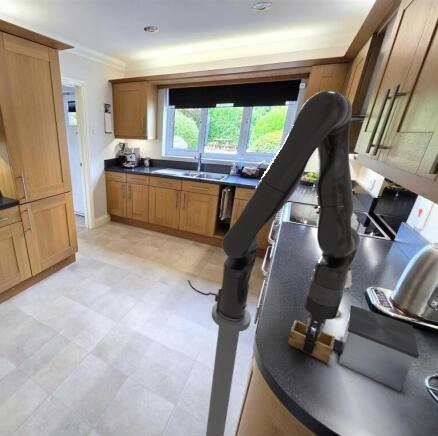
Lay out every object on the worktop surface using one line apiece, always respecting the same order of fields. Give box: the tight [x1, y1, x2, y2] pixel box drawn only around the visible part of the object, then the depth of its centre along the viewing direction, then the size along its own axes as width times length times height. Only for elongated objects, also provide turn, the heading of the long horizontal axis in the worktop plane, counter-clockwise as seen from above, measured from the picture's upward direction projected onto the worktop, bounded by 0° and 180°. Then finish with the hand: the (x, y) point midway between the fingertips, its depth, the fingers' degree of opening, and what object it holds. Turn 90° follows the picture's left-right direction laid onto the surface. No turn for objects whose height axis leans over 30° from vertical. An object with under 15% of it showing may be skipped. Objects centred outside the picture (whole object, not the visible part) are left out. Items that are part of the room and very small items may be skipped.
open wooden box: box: [287, 319, 336, 364], centre depth 71 cm, size 10×6×5 cm, turn 49°
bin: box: [332, 304, 420, 392], centre depth 66 cm, size 14×13×12 cm
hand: (309, 344), depth 71 cm, fingers closed on open wooden box, 6 cm apart
